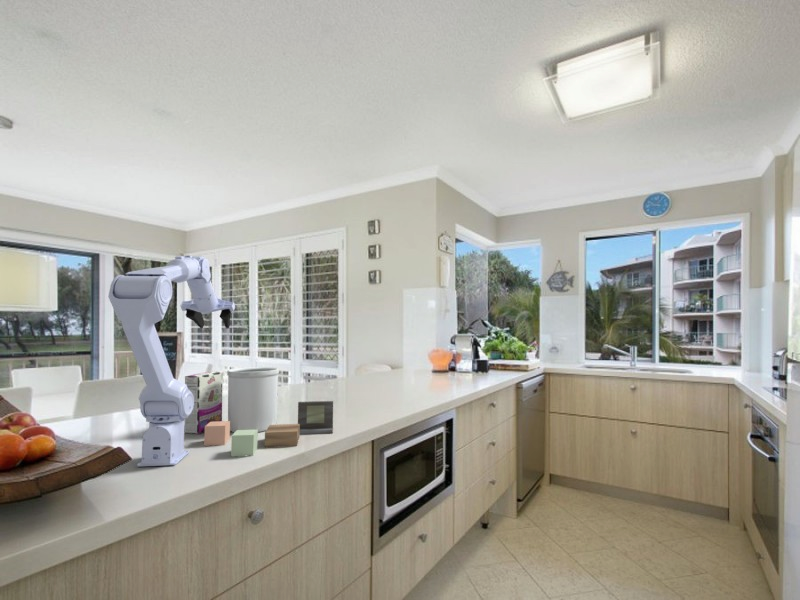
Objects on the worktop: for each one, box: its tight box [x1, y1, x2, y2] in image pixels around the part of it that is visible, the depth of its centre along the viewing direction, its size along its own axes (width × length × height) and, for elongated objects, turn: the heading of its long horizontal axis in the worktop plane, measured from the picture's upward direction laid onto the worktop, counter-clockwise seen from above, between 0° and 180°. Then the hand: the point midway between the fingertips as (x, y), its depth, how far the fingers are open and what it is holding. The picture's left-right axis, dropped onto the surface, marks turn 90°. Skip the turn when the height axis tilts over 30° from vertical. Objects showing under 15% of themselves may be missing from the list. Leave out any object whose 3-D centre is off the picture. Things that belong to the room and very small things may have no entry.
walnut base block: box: [264, 423, 300, 448], centre depth 109 cm, size 8×8×4 cm
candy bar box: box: [184, 370, 224, 435], centre depth 123 cm, size 11×5×16 cm, turn 168°
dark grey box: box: [297, 400, 334, 435], centre depth 121 cm, size 6×10×8 cm, turn 99°
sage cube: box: [230, 429, 259, 457], centre depth 100 cm, size 5×5×5 cm
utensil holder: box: [226, 366, 280, 433], centre depth 125 cm, size 15×15×18 cm
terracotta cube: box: [203, 420, 231, 447], centre depth 109 cm, size 5×5×5 cm
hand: (215, 326), depth 125 cm, fingers open, 7 cm apart
